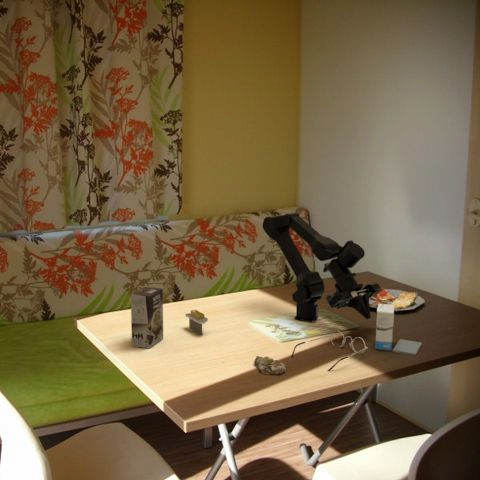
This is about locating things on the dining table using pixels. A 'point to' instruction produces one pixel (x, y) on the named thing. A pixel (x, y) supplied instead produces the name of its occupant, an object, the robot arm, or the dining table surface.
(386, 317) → the ink box
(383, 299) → the food plate
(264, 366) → the mineral rock
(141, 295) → the coffee box
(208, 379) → the dining table surface
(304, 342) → the eyeglasses
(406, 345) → the mat
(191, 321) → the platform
